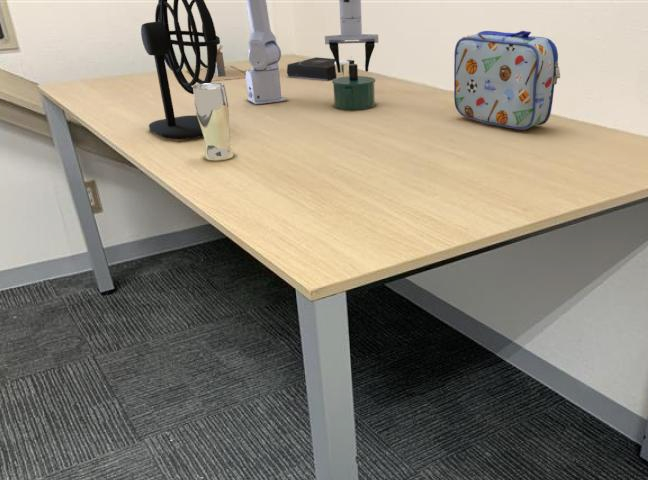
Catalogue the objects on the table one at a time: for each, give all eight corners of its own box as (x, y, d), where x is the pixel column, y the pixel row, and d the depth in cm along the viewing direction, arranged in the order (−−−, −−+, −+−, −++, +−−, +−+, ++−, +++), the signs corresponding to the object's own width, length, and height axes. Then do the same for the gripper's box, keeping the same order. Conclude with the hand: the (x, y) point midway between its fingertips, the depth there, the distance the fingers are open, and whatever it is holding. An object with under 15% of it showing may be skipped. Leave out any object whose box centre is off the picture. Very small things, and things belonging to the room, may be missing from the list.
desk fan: (246, 135, 163) (226, -28, 145) (177, 148, 155) (146, -24, 136) (202, 115, 182) (179, -31, 164) (138, 126, 173) (106, -28, 155)
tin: (327, 111, 183) (326, 87, 180) (342, 99, 197) (341, 76, 194) (367, 112, 181) (366, 88, 178) (380, 99, 195) (379, 76, 192)
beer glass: (221, 150, 152) (211, 81, 144) (241, 155, 148) (232, 84, 140) (196, 157, 147) (184, 86, 140) (216, 163, 143) (205, 90, 136)
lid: (327, 87, 182) (326, 68, 180) (338, 79, 192) (337, 60, 190) (370, 88, 180) (369, 68, 177) (379, 80, 190) (378, 61, 188)
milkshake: (352, 92, 205) (350, 57, 200) (335, 92, 206) (333, 57, 201) (353, 89, 209) (352, 54, 204) (337, 89, 210) (335, 55, 205)
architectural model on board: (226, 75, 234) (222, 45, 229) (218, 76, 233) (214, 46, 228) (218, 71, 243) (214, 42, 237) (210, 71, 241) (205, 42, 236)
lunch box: (560, 128, 163) (572, 29, 151) (536, 137, 157) (545, 34, 145) (472, 111, 180) (476, 22, 168) (447, 118, 174) (449, 26, 162)
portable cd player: (315, 69, 242) (314, 57, 240) (354, 72, 234) (354, 60, 232) (287, 76, 230) (286, 64, 228) (327, 80, 222) (326, 67, 220)
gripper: (323, 20, 175) (326, 74, 182) (378, 18, 176) (379, 73, 183) (323, 17, 181) (326, 70, 188) (376, 15, 182) (378, 68, 189)
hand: (352, 71), depth 186 cm, fingers open, 7 cm apart
